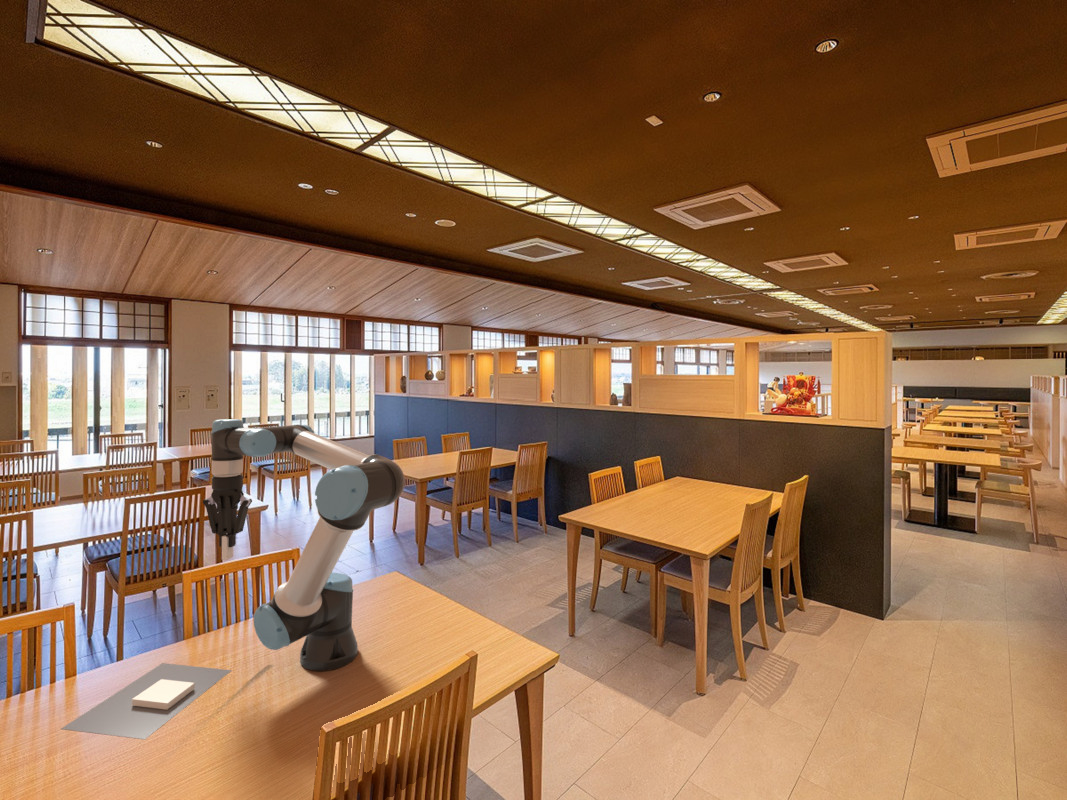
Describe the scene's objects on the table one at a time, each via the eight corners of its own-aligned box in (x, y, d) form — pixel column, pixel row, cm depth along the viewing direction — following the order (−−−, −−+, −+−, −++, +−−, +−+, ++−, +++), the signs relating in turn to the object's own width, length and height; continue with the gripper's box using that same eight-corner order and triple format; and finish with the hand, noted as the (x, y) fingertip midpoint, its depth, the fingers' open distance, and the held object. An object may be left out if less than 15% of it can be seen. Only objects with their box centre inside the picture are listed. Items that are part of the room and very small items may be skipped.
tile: (161, 685, 125) (194, 689, 124) (131, 706, 117) (167, 710, 116) (161, 679, 124) (194, 682, 123) (132, 699, 117) (167, 703, 116)
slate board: (231, 674, 132) (231, 670, 132) (144, 744, 106) (144, 739, 106) (162, 667, 134) (162, 662, 134) (60, 734, 109) (60, 728, 109)
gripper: (258, 472, 144) (258, 554, 145) (214, 471, 145) (213, 553, 145) (241, 477, 137) (241, 563, 137) (195, 476, 137) (195, 562, 138)
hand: (227, 558), depth 141 cm, fingers closed
